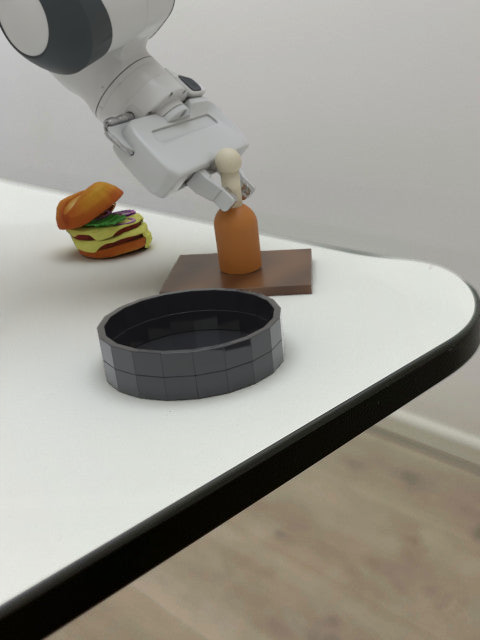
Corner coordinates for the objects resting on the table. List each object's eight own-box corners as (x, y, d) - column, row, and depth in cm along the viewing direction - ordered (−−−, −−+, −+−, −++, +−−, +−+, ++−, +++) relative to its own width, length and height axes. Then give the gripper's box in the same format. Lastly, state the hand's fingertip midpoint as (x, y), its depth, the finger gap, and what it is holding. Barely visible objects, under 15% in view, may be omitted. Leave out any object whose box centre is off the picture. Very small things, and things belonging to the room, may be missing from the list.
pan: (85, 411, 59) (74, 358, 58) (128, 336, 73) (120, 292, 71) (281, 399, 60) (276, 347, 58) (287, 328, 74) (283, 283, 72)
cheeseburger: (153, 256, 98) (120, 181, 93) (72, 282, 98) (36, 208, 93) (158, 235, 107) (129, 166, 102) (85, 259, 107) (52, 190, 102)
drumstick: (217, 275, 85) (201, 155, 78) (221, 259, 89) (206, 143, 83) (260, 273, 85) (247, 152, 79) (263, 257, 89) (250, 141, 83)
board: (160, 305, 81) (158, 292, 80) (181, 266, 94) (180, 254, 93) (312, 297, 82) (311, 284, 81) (312, 260, 94) (311, 248, 94)
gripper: (111, 96, 72) (220, 202, 73) (202, 78, 90) (288, 163, 91) (78, 145, 74) (184, 246, 76) (173, 118, 92) (257, 199, 94)
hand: (241, 200), depth 84 cm, fingers open, 4 cm apart
